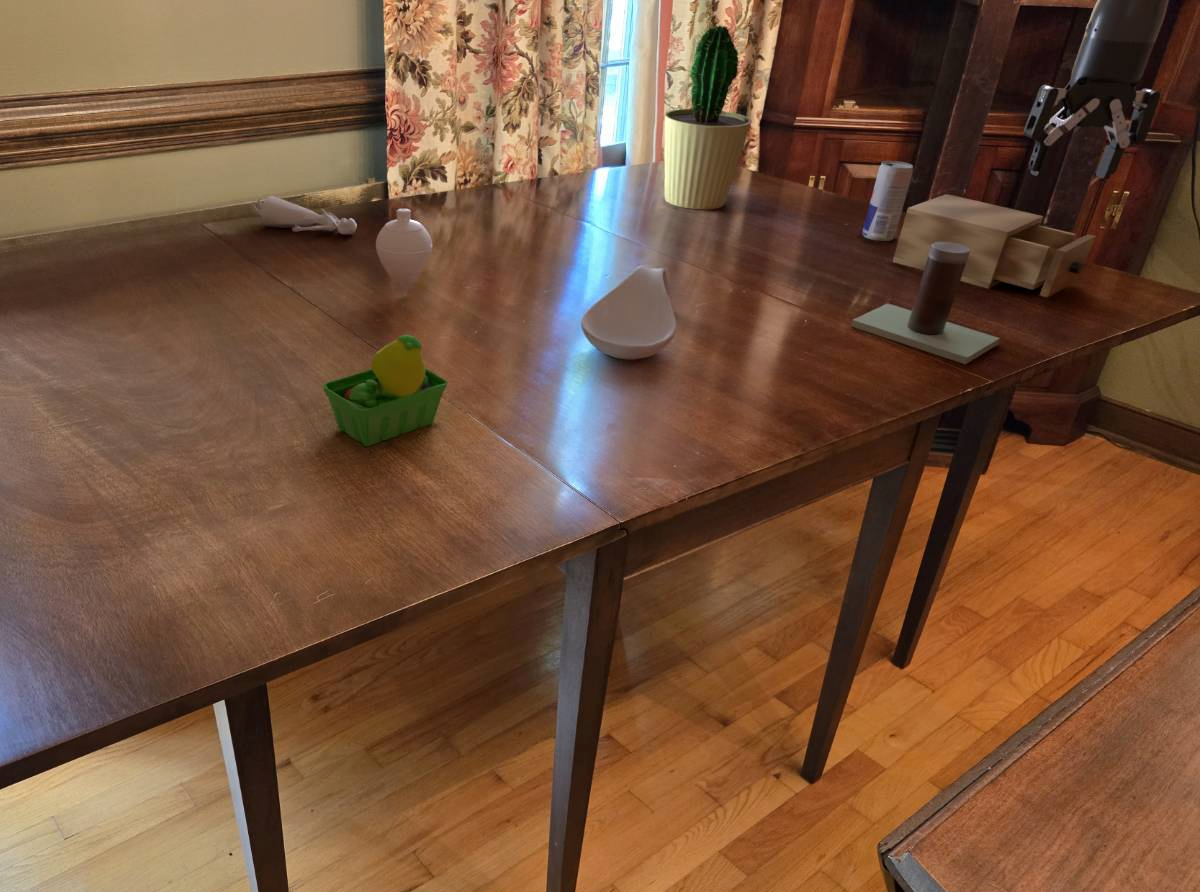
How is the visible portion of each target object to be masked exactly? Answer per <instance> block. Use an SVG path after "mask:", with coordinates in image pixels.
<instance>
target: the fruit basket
mask: <svg viewBox="0 0 1200 892" xmlns="http://www.w3.org/2000/svg"><path fill="white" fill-rule="evenodd" d="M447 385H448V381H447V380H446V379H445V378H442V377H441V376H439V375H438V374H436V373H434V372H432V371H431V370H430V369H427V368H426V362H425V359H424V357H423V352H422V343H421V342H420V340H419V339H418V338H417V337H416V336H412V335H410V334H403V335H400V336H398V337H397V339H395V340H393V341H391V342H390V343H388V344H386V345H385V346H382V347H381V348H380V349H379V350H377V351H376V353H375V354H374V355H373V357H372V360H371V367H370V369H368V370H364V371H360V372H357V373H353V374H351V375H348V376H345V377H341V378H337V379H335V380H332V381H328V382H325V383H323V384H322V388H323V391H324V393H325V396H326V397H327V398H328V401H329V404H330V407H331V409H332V412H333V415H334V418H335V422H336V424H337V427H338V429H339V430H340V431H342V432H344V433H346V435H348V436H349V437H351V438H352V439H354V440H355V441H357V442H359V443H361V444H362V445H363V446H365V447H367V448H368V447H370V446H374V445H376V444H379V443H380V442H382V441H383V442H384V441H387V440H390V439H392V438H396V437H398V436H400V435H403V434H404V435H405V434H407V433H410V432H412V431H416V430H417V429H419V428H424V427H427V426H430V425H432V424H433V423H434V421H435V417H436V416H437V415H436V414H437V411H438V409H439V406H440V402H441V399H442V396H443V393H444V392H445V390H446V388H447Z"/></svg>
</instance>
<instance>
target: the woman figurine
mask: <svg viewBox="0 0 1200 892" xmlns="http://www.w3.org/2000/svg"><path fill="white" fill-rule="evenodd" d="M256 203H257V206H256V205H255V201H252V202H251V204H250V207H251V210H250V211H251V213H252V214H254V215H257V216H259V217H260V220H261V225H263V226H264V227H265V228H279V229H280V228H282V229H287V228H288V229H289V228H291V230H292V232H294V233H297V232H302V231H328V232H332V231H335V230H337V232H338V233H339V234H341V235H343V236H350V235H353V234H354V233H355V232H356V231H357V226H358V225H357V223H356V220H355V219H353V218H352V217H349V219H347V218H345V217H342V218H340V219H339V218H338V217H337V216H336V215H334V214H333V213H331V212H329V211H326V210H325V209H323V208H320V210H321V212H322V214H318V213H316V211H315V212H314V211H313V210H311V209H309V208H307V207H303V206H301V205H298V204H295V203H293V202H291V201H287V200H285V199H282V198H279V197H276V196H274V195H268V196H267V197H266V198H265V199H264V200H263V203H262V201H261V199H260V198H258V199H257V202H256Z"/></svg>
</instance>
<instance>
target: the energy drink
mask: <svg viewBox="0 0 1200 892" xmlns="http://www.w3.org/2000/svg"><path fill="white" fill-rule="evenodd" d="M913 167H914V165H913V164H911V163H908V162H904V161H899V160H898V161H897V160H885V161H882V162H881V164H880V166H879V168H878V170H877V171H878V172H877V175H876V178H875V183H874V187H873V190H872V194H871V198H870V201H869V205H868V209H867V214H866V217H865V220H864V224H863V228H862V236H863V237H864V238H866V239H868V240H872V241H876V242H877V241H878V242H891V241H893V240H894V239H895V238H896V234H897V231H898V226H899V223H900V220H901V216H902V212H903V208H904V205H905V203H906V202H905V201H906V198H907V195H908V191H909V188H910V184H911V181H912V177H913V173H914V170H913V169H914V168H913Z"/></svg>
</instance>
